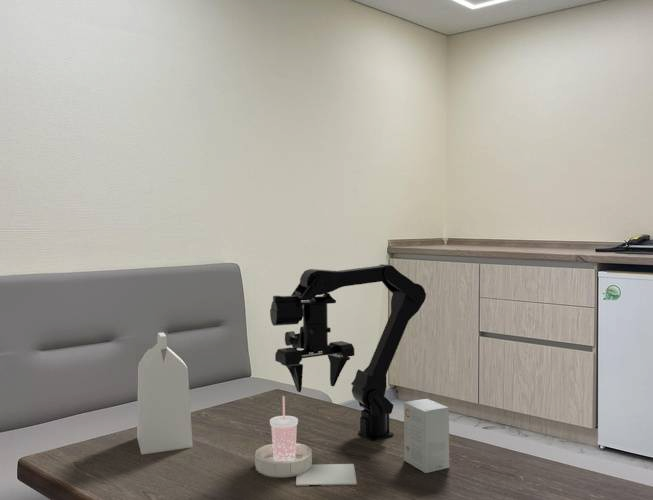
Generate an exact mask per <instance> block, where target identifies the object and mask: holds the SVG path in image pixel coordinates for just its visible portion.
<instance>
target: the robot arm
mask: <svg viewBox="0 0 653 500" xmlns="http://www.w3.org/2000/svg"><path fill="white" fill-rule="evenodd" d="M299 278H300V279H299V283H298V284H297V286H296V287H295V289H294V290H293V292H292V293H291V295H273V296H272V302H271V306H270V310H269V314H270V315H269V316H270V322H271V324H272V326H290V325H291V326H292V325H298V324H299V323H300V322H302V323H303V324H302V326H300V328H299V333H296V332H295V331H294V330H291V331H290V330H289V331H286V332H285V333H284V342H285V343H284V344H285V346H287V347H284V348H278V349H277V350H276V352H275V354H274V355H275V356H274V357H275V360H274V361H275V362H277V363H280V364H281V366H283V367H284V366H285V367H286V368H287V369H288V371H289V373H290V375H291V378H292V381H293V383H294V386H295V389H296V391H297V392H298V393H301V392H302V387H303V375H304V374H303V371H304V369H303V368H304V365H303V364H302V363H301V361H302V360H303V359H306V358H314V357H324V356H327V357H328V360H329V382H330V386H331V387H335V385H336V383H337V381H338V379H339V377H340V375H341V372H342V371H343V369H344V367H345V365H346V364H347V362H348V361H350V360H351V357H354V356H355V346H354V345H353V344H352V343H349V342H347V341H343V340H341V341H340V340H339V341H331V342H329V343H328V341H329V338H328V333H331V327H328V326H329V325H328V305H330V304H336V303H337V300H336V299H334V297H332V295H331V294H330V293H332V292H334V291H336V290H338V289H341V288H343V287H350V286H357V285H359V286H360V285H365V284H372V283H380V282H382V284H383V285H384V286H385V288H386V289H387V290H388V291H389V292H391V295H392V296H391V299H390V314H389V317H388V320H387V322H386V324H385V326H384V328H383V331H382V332H381V333H382V334H381V336H380V338H379V340H378V342H377V345H376V348H375V350H374V352H373V355H372V357H371V359H370V362H369V364H368V366H367V367H366V368H365V369H364V370H361V369H357V371H356V373H355V378H354V380H353V381H352V382H351V383H350V384H351V386H352V387H351V393H352V396H353V398H354V399H355V400H356V401H357V402H358V404H359V407H361V408H363V409H362V410H361V411H360V412H361V414H360V417H359V428H360V429H359V430H358V431H357V434H358V435H360V436H362V437H364V438H366V439H368V440H370V441H376V440H377V441H378V440H382V439H385V438H389V437H390V438H391V437H394V433H393V432H390V414H392V412H393V409H394V404H393V403H392V402H391V401H390V400H389V399H388V398H387V397H386V396H385V395H386V391H387V374H388V372H389V370H390V367H391V365H392V362H393V359H394V357H395V354H396V352H397V350H398V347H399V345H400V343H401V340H402V338H403V335H404V333H405V330H406V328H407V326H408V324H409V321H410V320H411V319H412V318H413V317H414V316H415V315H416V314H417V313H418V312H419V311H420V310H421V307H422V306H423V304H424V303H425V301H426V297H427V293H426V291H425V288H424V287H423V285H421V284H419V283H415V282H414V281H413V280H412V279H410V278H408V277H407V276H406V275H404V274H403V273H402V272H400V271H399V270H398V269H396V268H395V267H394V266H393V265H391V264H383V263H382V264H379V265H375V266H374V265H373V266H365V267H357V268H350V269H349V268H348V269H343V270H342V269H341V270H332V269H331V270H330V269H316V268H310V269H309V268H308V269H305V270H304V271H303V272H302V274H301V276H300V277H299ZM289 346H290V347H289Z"/></svg>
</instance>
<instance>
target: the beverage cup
mask: <svg viewBox="0 0 653 500" xmlns="http://www.w3.org/2000/svg"><path fill="white" fill-rule="evenodd" d="M285 397H286V396H284V395H283V396H282V415H277V416H274V417H271V418H270V419H269V426H270V429H271V442H272V443H271V444H273V458H274V461H292V460H295V453H296V443H297V433H298V432H297V430H298V427H297V426H298V425H299V418H298V417H296V416H294V415H293V416H292V415H286V399H285Z"/></svg>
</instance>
